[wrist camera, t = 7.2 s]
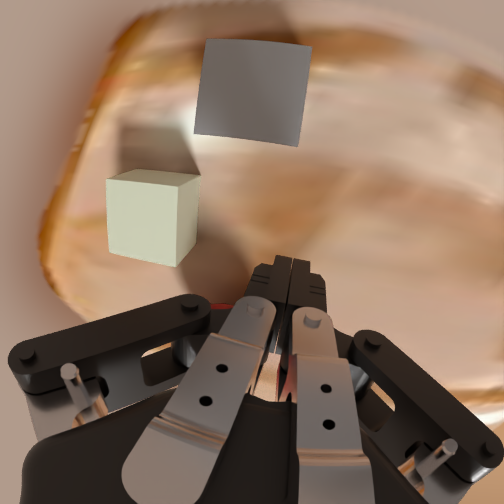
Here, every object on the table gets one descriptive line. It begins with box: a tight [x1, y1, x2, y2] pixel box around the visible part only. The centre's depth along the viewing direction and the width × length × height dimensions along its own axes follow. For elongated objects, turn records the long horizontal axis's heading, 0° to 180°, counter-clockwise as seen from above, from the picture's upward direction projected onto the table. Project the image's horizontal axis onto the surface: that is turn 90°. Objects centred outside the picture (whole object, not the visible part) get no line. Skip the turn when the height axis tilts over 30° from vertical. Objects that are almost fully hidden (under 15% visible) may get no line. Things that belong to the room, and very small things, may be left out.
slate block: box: [194, 39, 312, 147], centre depth 14 cm, size 5×5×5 cm
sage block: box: [106, 169, 201, 267], centre depth 19 cm, size 5×5×4 cm
